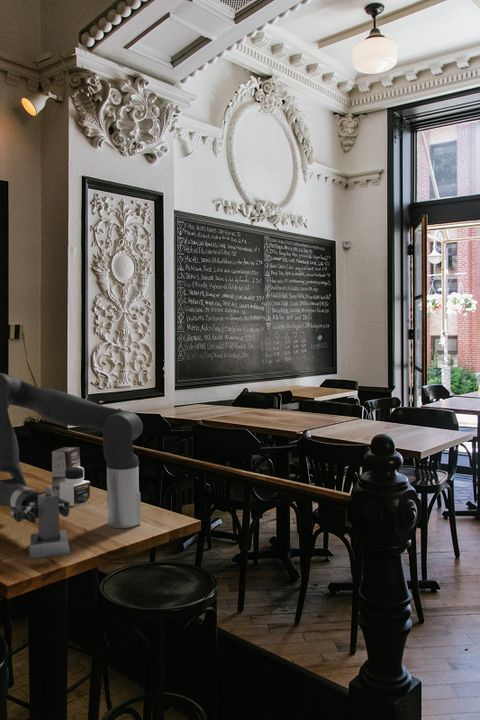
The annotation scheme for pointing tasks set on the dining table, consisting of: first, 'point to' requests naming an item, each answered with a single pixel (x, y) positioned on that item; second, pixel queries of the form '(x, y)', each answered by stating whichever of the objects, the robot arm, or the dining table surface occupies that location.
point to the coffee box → (63, 465)
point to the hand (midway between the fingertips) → (51, 516)
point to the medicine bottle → (75, 487)
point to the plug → (48, 516)
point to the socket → (48, 546)
